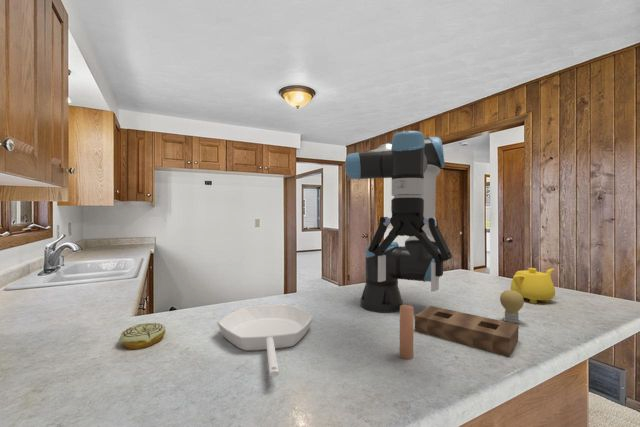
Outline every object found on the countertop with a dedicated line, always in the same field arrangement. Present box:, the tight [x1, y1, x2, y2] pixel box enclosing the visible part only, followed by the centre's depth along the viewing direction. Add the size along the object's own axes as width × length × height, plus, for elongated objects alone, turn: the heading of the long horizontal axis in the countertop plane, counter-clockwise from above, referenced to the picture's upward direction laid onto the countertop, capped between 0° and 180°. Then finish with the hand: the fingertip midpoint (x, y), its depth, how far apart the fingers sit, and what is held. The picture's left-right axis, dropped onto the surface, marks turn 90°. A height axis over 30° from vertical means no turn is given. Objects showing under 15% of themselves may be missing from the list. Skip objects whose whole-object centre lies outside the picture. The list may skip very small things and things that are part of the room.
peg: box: [399, 304, 415, 360], centre depth 74 cm, size 3×3×12 cm
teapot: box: [510, 267, 556, 304], centre depth 121 cm, size 13×20×12 cm
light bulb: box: [499, 289, 525, 324], centre depth 97 cm, size 6×6×10 cm
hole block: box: [414, 305, 519, 358], centre depth 86 cm, size 24×12×4 cm, turn 49°
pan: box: [216, 303, 315, 378], centre depth 80 cm, size 28×41×4 cm
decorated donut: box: [118, 322, 167, 350], centre depth 83 cm, size 10×11×4 cm
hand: (406, 285), depth 74 cm, fingers open, 13 cm apart
